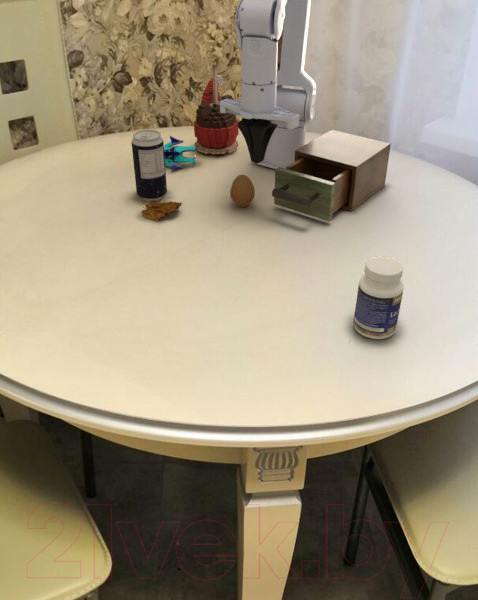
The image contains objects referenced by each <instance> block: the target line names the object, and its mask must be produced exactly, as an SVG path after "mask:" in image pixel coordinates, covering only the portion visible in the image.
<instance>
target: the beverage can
mask: <svg viewBox="0 0 478 600" xmlns="http://www.w3.org/2000/svg"><path fill="white" fill-rule="evenodd" d="M130 143H131V151H132V161H133V170H134V180H135V189H136V195H137V196H138V197H139V198H141V200H143V201H146V202H156V201H157V202H158V201H160V200H162V199H163V198H164V196H165V195H167V194H168V185H167V171H166V165H165V156H164V146H165V144H164V139H163V137H162V134H161V132H160V131H158V130H154V129H142V130H138V131H136V132H134V133H133V134H132V140H131V142H130Z"/></svg>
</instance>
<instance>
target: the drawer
mask: <svg viewBox="0 0 478 600" xmlns="http://www.w3.org/2000/svg"><path fill="white" fill-rule="evenodd" d="M351 178H352V170H350V169H347V168H343V167H339V166H335V165H332V164H328V163H324V162H321V161H317V160H313V159H309V158H306V157H302V158H300V159H298V160H297V161H295V162H293V163H292V164H290V165H288V166H287V167H286V169H285V168H281V167H278V168H276V169H274V187H273V189H272V191H271V196H272V197H273V205H275V206H278V207H282V208H285V209H288V210H291V211H294V212H298V213H301V214H304V215H306V216H310V217H313V218H316V219H320V220H322V221H326V222H331V221H332V220H333V217H334V216H333V215H334V213H336V212H337V211H338V210H339V209H342V208H341V207H342V206H343V205H345V204H346V203H347V202H349V196H350V187H351Z"/></svg>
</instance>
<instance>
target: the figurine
mask: <svg viewBox="0 0 478 600" xmlns="http://www.w3.org/2000/svg"><path fill="white" fill-rule="evenodd" d="M169 139H170V141H169V142H167V143H165V144H164V156H165V166H167V167H169V169H180V170H181V169H185V168H184V166H183V165H181V164H189V163H190V164H193V165H196V164H197V162H196V161H197V160H196V158H197V155H196V154H195V155H194V156H193V157H188V156H184V155H183V153H186V152H187V153H188V152H196V149H195V145H193V146H192V145H191V146H190V145H189V146H188V145H180V144H183V143H184V140H183V139H177V138H176V137H173V136H171V135H169Z"/></svg>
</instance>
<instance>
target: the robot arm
mask: <svg viewBox="0 0 478 600" xmlns="http://www.w3.org/2000/svg"><path fill="white" fill-rule="evenodd" d="M311 4H312V0H240V1H239V2H238V4H237V6H236V10H235V11H236V12H235V22H234V23H235V32H236V36H237V48H238V51H240V99H234V100H232V99H224V100H222V101H220V112H221V113H231V114H235V116H239V117H240V118H241V120H240V121H238V130H239V131H240V133H241V134H242V136H243V138H244V141H245V143H246V147H247V150H248V153H249V157H250V162H251V163H254V164H256V165H259V166H263V167H265V168H269V169H273V170H275V169H276V168H278V167H281V168H285V169H286V167H287V166H288V165H290V164H292V163H293V162H294V160H295V150H297V149H299V148H301V147H302V146H304V145H306V134H307V124H310V123H311V122H312V121H313V119H314V117H315V113H316V108H317V107H316V106H317V94H316V93H317V83H316V82H315V80H314V79H313V78H312V77H311V76H310V75H309V74H307V72H306V71H305V63H306V52H307V45H308V44H307V43H308V34H309V24H310V15H311V7H312V5H311ZM281 36H282V40H281V41H282V42H281V43H282V44H281V50H280V51H281V52H280V61H279V62H280V63H279V70H278V57H279V56H278V54H279V53H278V52H279V40H280V39H281ZM279 86H283V87H279ZM285 86H286V87H285ZM291 87H296V88H291ZM299 88H301V89H299Z"/></svg>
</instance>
